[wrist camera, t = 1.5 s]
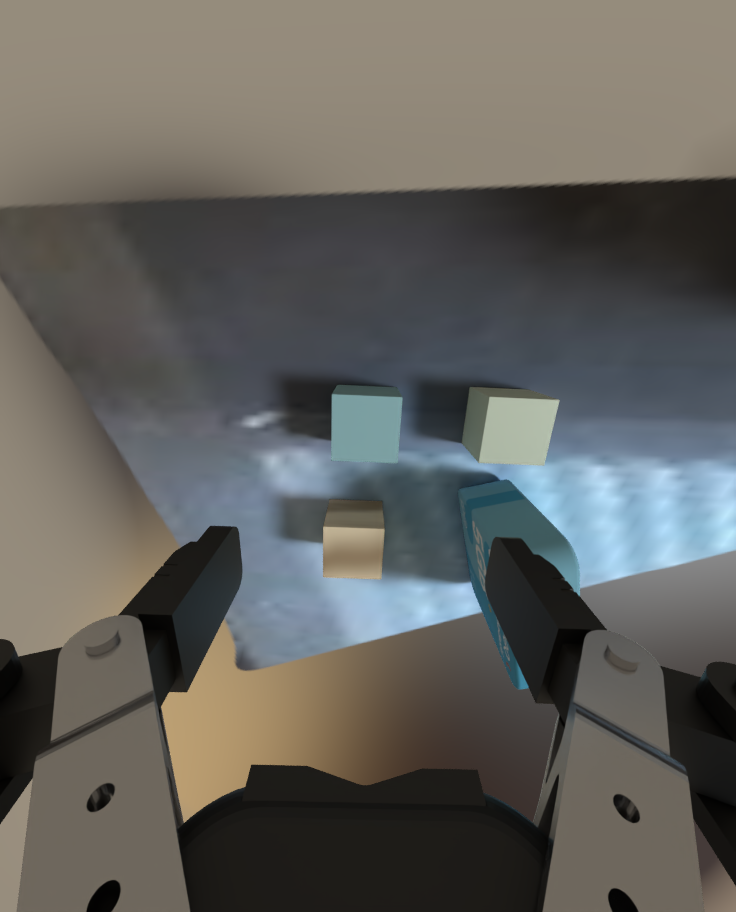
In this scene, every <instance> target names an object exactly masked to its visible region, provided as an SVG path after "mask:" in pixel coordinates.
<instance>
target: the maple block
mask: <svg viewBox="0 0 736 912" xmlns="http://www.w3.org/2000/svg"><path fill="white" fill-rule="evenodd" d="M384 532H385V527H384V516H383V505H382V501H366V500H340V499H329V504H328V508H327V512H326V517H325V521H324V526H323V577H329V578H358V579H381V575H382V560H383V546H384Z"/></svg>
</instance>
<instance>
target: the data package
mask: <svg viewBox="0 0 736 912" xmlns="http://www.w3.org/2000/svg"><path fill="white" fill-rule="evenodd" d="M458 498H459V505H460V512H461V519H462V526H463V533H464V539H465V546H466V553H467V560H468V567H469V573H470V579H471V583H472V587H473V590H474V593H475V595H476V598H477V600H478V602H479V605H480V607H481V610H482V612H483V614H484V617H485V619H486V621H487V624H488V626H489V629H490V631H491V633H492V636H493V638H494V641H495V643H496V645H497V648H498V650H499V653H500V655H501V657H502V660H503V662H504V665H505V667H506V670H507V672H508V674H509V677H510V679H511V681H512V683H513V685H514V686H515V687H516V688H517V689H526V688H529V687H528V685H527V683H526V681H525V678H524V676H523V674H522V672H521V670H520V667H519V665H518V663H517V661H516V659H515V657H514V654H513V652H512V650H511V648H510V646H509V644H508V641H507V639H506V637H505V635H504V633H503V630H502V628H501V626H500V624H499V622H498V620H497V617H496V615H495V613H494V611H493V609H492V607H491V604H490V602H489V600H488V598H487V594H486V589H485V576H486V571H487V566H488V561H489V556H490V550H491V545H492V541H493V539H494V538H495V537H518V538H521V539H523V540H524V542H525V543H526V544H527V546H528V547H529V548H530V550H531V551H532V552H533V554H538V555H540V556H542V557H543V558H545V559H546V560H547V561H549V562H550V563H552V564H553V565H554V566H555V567H556V568H557V569H558V570H559V572H560V573H561V574H562V575H563V577H564V578H565V581H567V582H568V583H569V584H570V585H571V586H572V588H573V589H574V592H576V593H577V594H578V595H579V596H580V570H579V564H578V560H577V557H576V554H575V552H574V550H573V548H572V546H571V544H570V543H569V541H568V540H567V539H566V538H565V537H564V536H563V535H562V534H561V533H560V532H559V531H558V530H557V528H556V527H555V526H554V525H553V524H552V523H551V522H550V521H549V520H548V519H547V518H546V517H545V516H544V515H543V514H542V513H541V512H540V511H539V510H538V509H537V508H536V507H535V506H534V505H533V504H532V503H531V502H530V501H529V500H528V499H527V498H526V497H525V496H524V495H523V494H522V493H521V492H520V491H519V490H518V489H517V488H516V487H515V486H514V485H513V484H512V482H510V481H509V480H501V481H496V482H491V483H486V484H481V485H476V486H471V487H466V488H461V489H460V490H459V492H458Z"/></svg>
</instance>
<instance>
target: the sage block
mask: <svg viewBox="0 0 736 912" xmlns="http://www.w3.org/2000/svg"><path fill="white" fill-rule="evenodd" d="M558 404H559V400H558V399H555V398H552V397H549V396H546V395H543V394H540V393H537V392H534V391H531V390H527V389H505V388H482V387H470V389H469V396H468V403H467V410H466V417H465V424H464V431H463V438H462V444H463V445H464V446H465V448H466V449H467V450H468V451H469V452H470V453H471V455H472V456H473V457H474V458H475V459H476V460H477V461H478V463H495V464H519V465H543V466H544V464H545V459H546V455H547V451H548V447H549V442H550V438H551V434H552V429H553V425H554V421H555V417H556V412H557V408H558Z"/></svg>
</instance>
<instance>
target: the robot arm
mask: <svg viewBox="0 0 736 912" xmlns="http://www.w3.org/2000/svg"><path fill="white" fill-rule="evenodd" d="M241 579H242V559H241V549H240V539H239V531H238V528H237V527H231V526H210V527H209V528H208V529H207V530H206V531H205V533H204V534H203V535H202V536H201V537H200V539H199V540H198V541H197V542H189V543H188V544H186V545H184V546H183V547H181V548H180V549H178V550H176V551H175V552H174V553H173V554H172V555H171V556H170V557H169V559H168V560H167V561H166V562H165V563H164V566H162V567H161V568H160V569H159V570H158V571H157V572H156V573H155V576H154V577H152V578H151V579H150V580H149V581H148V582H147V583H146V585H145V586H144V587H143V588H142V589H141V590H140V591H139V593H138V594H137V595H136V596H135V597H134V598H133V599H132V600H131V601H130V603H129V604H128V605H127V606H126V607H125V608H124V609H123V611H122V612H121V613H120V614H119V615H118V616H113V617H108V618H105V619H101V620H99V621H96V622H94V623H92V624H90V625H88V626H87V627H85V628H83V629H82V630H80V631H79V632H78V633H76V634H75V635H74V636H73V637H71V638H70V639H69V640H68V641H67V643H66V644H65V645H64V646H63V647H61V648H56V649H52V650H47V651H43V652H38V653H33V654H29V655H24V656H20V657H18V655H17V652H16V650H15V647H14V645H13V644H12V643H11V642H10V641H8V640H4V639H0V824H1V822H2V821H3V819H4V818H5V817H6V815H7V814H8V812H9V811H10V809H11V808H12V806H13V805H14V804H15V802H16V801H17V799H18V798H19V797H20V795H21V794H22V792H23V791H24V789H25V788H26V787H27V785H28V784H29V782H30V781H31V779H32V778H33V782H32V790H31V798H30V806H29V815H28V823H27V831H26V840H25V847H24V856H23V864H22V872H21V881H20V888H19V897H18V905H17V912H704V905H703V897H702V888H701V879H700V872H699V863H698V855H697V847H696V838H695V830H694V821H693V819H694V820H695V822H696V824H697V825H698V827H699V828H700V830H701V831H702V833H703V835H704V836H705V838H706V839H707V841H708V843H709V844H710V846H711V847H712V849H713V850H714V852H715V854H716V855H717V857H718V858H719V860H720V862H721V863H722V865H723V866H724V868H725V870H726V871H727V873H728V874H729V876H730V877H731V879H732V881H733V882H734V884H735V885H736V665H735V664H730V663H725V662H713V663H710V664H709V665H708V666H707V667H706V669H705V671H704V673H703V675H702V677H697V676H694V675H690V674H687V673H683V672H680V671H676V670H673V669H669V668H665V667H662V666H660V665H659V664H658V662H657V661H656V660H655V658H654V657H653V656H652V655H651V654H650V653H649V652H648V651H647V650H645V649H644V648H643V647H641V646H640V645H639V644H637V643H636V642H634V641H633V640H631V639H629V638H627V637H625V636H623V635H620V634H618V633H615V632H611V631H607V629H606V628H605V627H604V626H603V625H602V624H601V622H600V621H599V620H598V618H597V617H596V616H595V615H594V613H593V612H592V611H591V610H590V609H589V607H588V606H587V605H586V604H585V602H584V601H583V600H582V599H581V597H580V596H579V595H578V594H577V593H576V592H574V589H573V588H572V586H571V585H570V584H569V583H568V582H567V581H565V578H564V577H563V575H562V574H561V573H560V572H559V570H558V569H557V568H556V567H555V566H554V565H553V564H552V563H550V562H549V561H547V560H546V559H545V558H543V557H542V556H540V555H538V554H533V552H532V551H531V550H530V548H529V547H528V546H527V544H526V543H525V542H524V540H523V539H521V538H518V537H495V538H494V539H493V541H492V545H491V550H490V556H489V561H488V566H487V571H486V576H485V589H486V594H487V598H488V600H489V602H490V604H491V607H492V609H493V611H494V613H495V615H496V617H497V620H498V622H499V624H500V626H501V628H502V630H503V633H504V635H505V637H506V639H507V641H508V644H509V646H510V648H511V650H512V652H513V654H514V657H515V659H516V661H517V663H518V665H519V667H520V670H521V672H522V674H523V676H524V678H525V681H526V683H527V685H528V687H529V689H530V691H531V693H532V696H533V698H534V700H535V702H536V703H544V704H555V706H556V708H557V710H558V712H559V715H558V718H557V721H556V725H555V730H554V734H553V739H552V744H551V749H550V753H549V758H548V762H547V767H546V772H545V776H544V781H543V786H542V791H541V795H540V800H539V803H538V807H537V810H536V814H535V817H534V821H533V823H532V822H531V821H530V820H529V819H527V818H526V817H525V816H524V815H522V814H521V813H520V812H518V811H517V810H515V809H514V808H512V807H511V806H509V805H508V804H506V803H505V802H503V801H501V800H499V799H497V798H495V797H493V796H491V795H488V794H485V793H483V790H482V786H481V782H480V778H479V774H478V771H477V770H460V769H420V770H416V771H414V772H410V773H407V774H404V775H401V776H397V777H394V778H391V779H388V780H385V781H381V782H378V783H375V784H372V785H367V786H366V785H359V784H356V783H353V782H351V781H348V780H345V779H342V778H340V777H337V776H334V775H331V774H328V773H326V772H323V771H320V770H317V769H314V768H311V767H308V766H285V765H251V768H250V772H249V776H248V780H247V783H246V787H244V788H241V789H237V790H235V791H233V792H231V793H229V794H226V795H224V796H222V797H220V798H218V799H217V800H215V801H213V802H212V803H210V804H208V805H207V806H205V807H204V808H203V809H201V810H200V811H198V812H197V813H196V814H195V815H193V816H192V817H190V818H189V819H188V820H187V821H186V822H185V823H184V822H183V817H182V812H181V807H180V803H179V798H178V793H177V788H176V783H175V778H174V772H173V767H172V762H171V756H170V751H169V746H168V741H167V735H166V730H165V725H164V719H163V715H162V710H161V705H162V704H163V702H164V700H165V698H166V696H167V694H168V693H169V692H187V691H188V689H189V687H190V685H191V683H192V681H193V679H194V677H195V675H196V673H197V671H198V669H199V667H200V665H201V663H202V661H203V659H204V657H205V655H206V653H207V651H208V649H209V647H210V645H211V643H212V641H213V639H214V637H215V635H216V633H217V631H218V629H219V627H220V625H221V623H222V621H223V619H224V617H225V615H226V613H227V611H228V609H229V607H230V605H231V603H232V601H233V599H234V597H235V595H236V593H237V591H238V589H239V587H240V584H241Z"/></svg>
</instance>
